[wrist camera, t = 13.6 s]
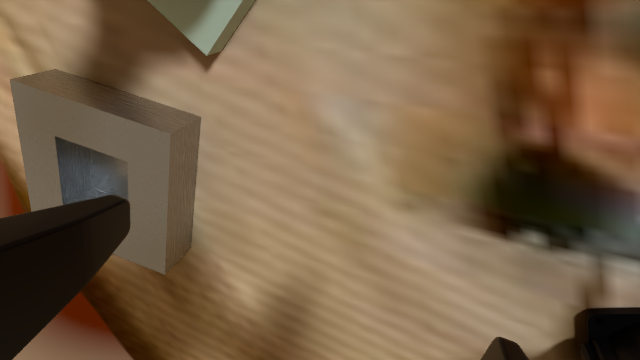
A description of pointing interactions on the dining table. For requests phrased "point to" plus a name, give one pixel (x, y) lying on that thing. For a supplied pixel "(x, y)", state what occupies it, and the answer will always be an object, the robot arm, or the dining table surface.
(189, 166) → the bore block
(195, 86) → the dining table surface
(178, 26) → the pad
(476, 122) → the dining table surface
